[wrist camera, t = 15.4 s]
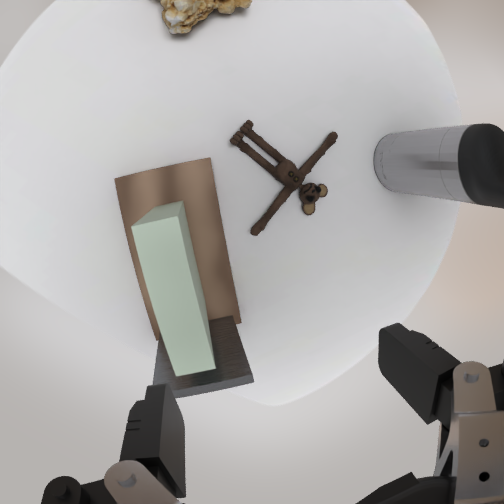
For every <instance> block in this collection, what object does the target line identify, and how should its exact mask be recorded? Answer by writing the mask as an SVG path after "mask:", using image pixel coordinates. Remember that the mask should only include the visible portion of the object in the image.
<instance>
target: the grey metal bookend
mask: <svg viewBox="0 0 504 504" xmlns="http://www.w3.org/2000/svg"><path fill="white" fill-rule="evenodd" d="M208 323H209V330H210V336H211V343H212V349H213V355H214V361H215V367H216V369H211V370H206V371H202V372H197V373H192V374H186V375H181V376H176V375H175V372H174V369H173V367H172V364H171V361H170V358H169V355H168V352H167V350H166V347H165V344H164V341H163V338H162V335H161V332H160V335H159V342H158V349H157V356H156V363H155V371H154V378H153V385H157V384H164V383H168V384H169V385H170V387H171V390H172V392H173V395H174V397H175V398H180V397H187V396H192V395H197V394H202V393H208V392H212V391H218V390H222V389H227V388H231V387H236V386H240V385H245V384H249V383H253V382H254V379H253V374H252V372H251V369H250V366H249V363H248V360H247V357H246V354H245V351H244V348H243V345H242V342H241V339H240V336H239V333H238V330H237V327H236V324H235V321H234V318H233V315H230V316H225V317H221V318H216V319H212V320H208Z"/></svg>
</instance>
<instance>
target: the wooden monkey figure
mask: <svg viewBox="0 0 504 504" xmlns="http://www.w3.org/2000/svg"><path fill="white" fill-rule="evenodd" d="M252 127H253V123H252V121H250V120H247V121H246V122H245V123H244V124H243V126H242V127H241V128H240V131H237V132H236V134H235V135H233V137H232V138H231V139H230V142H231V143H232V144H233V145H236V146H238V147H239V148H240V150H241V151H242V152H245V153H246V154H248V155H249V156H250V157H251V158H253V159H254V160H255V161H256V162H257V163H259V164H260V165H261V166H262V167H263V168H265V169H266V170H267V171H268V172H269V173H271V174H272V175H273V176H274V177H275V178H276V180H278V181H280V182H281V183H283V184H284V185H285V187H284V189H283V190H282V191H281V192H280V194H279V195H278V197H277V198H276V200H275V201H274V202H273V204H272V205H271V206H270V208H269V209H268V211H267V212H266V213H265V215H264V216H263V217H262V218H261V219H260V220H259V221H258V222H257V223H256V224H255V225H254V226H253V227H252V229H251V234H252V235H254V236H257V235H258V234H259V233H260V232H261V231H263V230H264V229H265V226H266V225H267V223H268V222H269V220H270V219H271V218H272V216H273V215H274V214H275V213H276V211H277V210H278V209H279V208H280V206H281V205H282V204H283V203H284V202H286V200H287V198H288V197H289V196H290V194H291V193H292V192H293V191H295V190H296V189H297V188H298V187H299V188H300V189H301V190H300V198H301V200H302V201H303V202H304V205H303V211H304V213H305V214H307V215H312V214H313V213H314V212H315V202H316V201H317V200H318V199H319V197H325V196H326V195H327V192H328V189H327V187H326V186H325V185H324V184H319V185H318V186H317V185H316V184H314V183H308V184H305V185H302V182H303V181H304V179H305V176H306V175H307V174H308V173H310V172H311V169H312V168H313V166H314V165H315V164H316V163H317V161H318V160H319V159H320V158H321V157H322V156H323V155H324V154H325V152H326V151H327V150H328V149H329V148H330V147H331V146H332V145H333V144H334V143H335V142H336V139H337V137H338V135H337V133H336V132H332V133H330V134H329V135H328V137H327V139H326V140H325V142H324V143H323V144H322V146H321V147H320V148H319V149H318V150H317V151H316V152H315V153H314V154H313V155H312V156H311V157H310V158H309V159H308V161H307V162H306V163H305V164H304V165H303V166H302V167H301V168H300V169H299V170H298V169H297V168H296V166H295V164H293V163H292V162H291V161H290V160H288V159H286V158H285V157H283V156H282V155H281V154H280V153H279V152H278V151H277V150H276V149H274V148H273V147H272V146H270V145H269V144H268V143H267V142H266V141H264V140H263V138H262V137H261V136H258V135H257V134H256V133H255V132H254V131H253V130H252ZM243 134H244V135H245V136H247V137H248V138H250V139H251V140H252V141H253V142H255V143H256V144H257V145H258V146H260V147H261V148H262V149H263V150H265V151H266V152H267V153H268V154H269V155H271V156H272V157H273V158H274V159H275V160H277V161H278V162H279V164H278V165H277V166H276V167H274V166H273V165H272V164H270V163H269V162H268V161H267V160H266V159H265V158H263V157H262V156H261V155H260V154H258V153H257V152H256V151H255V150H254V149H252V148H251V147H250V146H249V145H248V144H247V143H245V142H244V141H243V140H242V138H243V137H244V135H243Z"/></svg>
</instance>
